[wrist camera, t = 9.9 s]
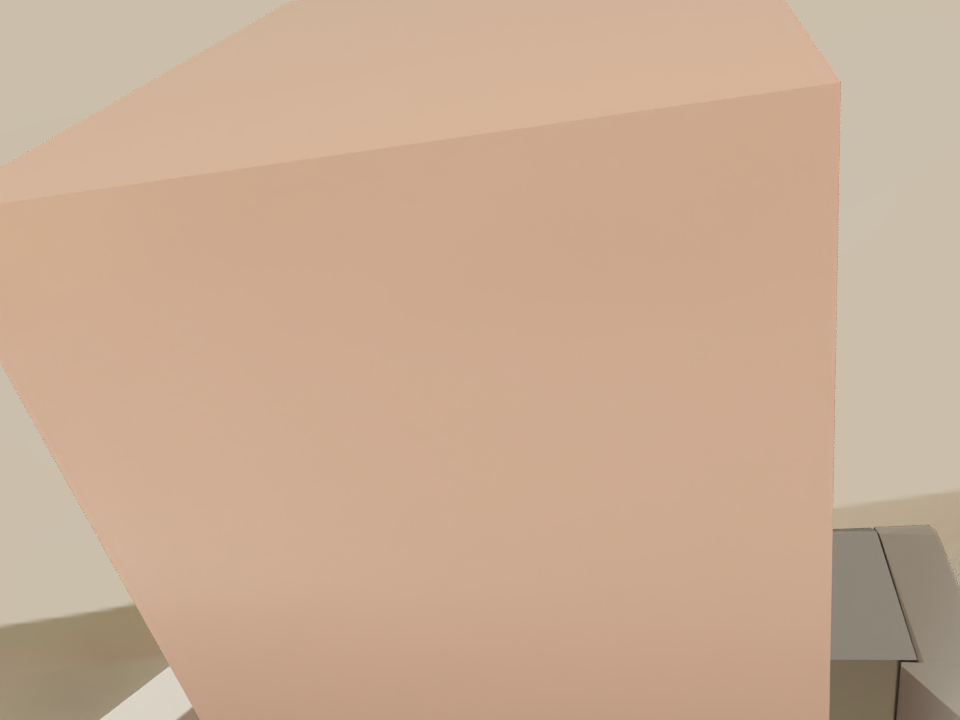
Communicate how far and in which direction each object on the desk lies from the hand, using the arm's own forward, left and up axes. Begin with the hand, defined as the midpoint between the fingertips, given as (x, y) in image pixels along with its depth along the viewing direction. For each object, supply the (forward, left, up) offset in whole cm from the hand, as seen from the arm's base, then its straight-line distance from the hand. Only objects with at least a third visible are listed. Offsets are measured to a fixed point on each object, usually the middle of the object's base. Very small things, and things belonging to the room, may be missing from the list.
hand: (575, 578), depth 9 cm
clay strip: (0, -1, -8) cm, 8 cm away
